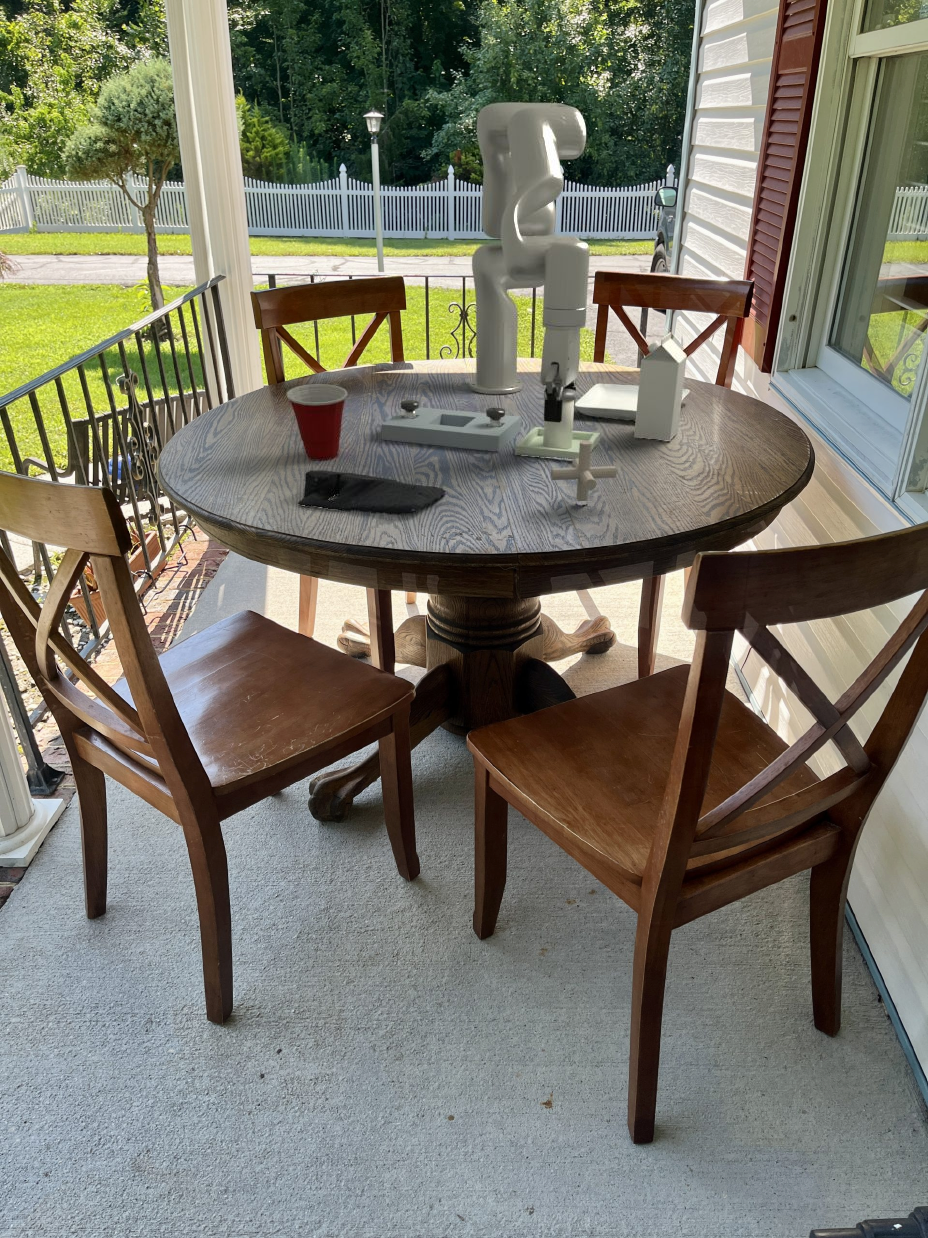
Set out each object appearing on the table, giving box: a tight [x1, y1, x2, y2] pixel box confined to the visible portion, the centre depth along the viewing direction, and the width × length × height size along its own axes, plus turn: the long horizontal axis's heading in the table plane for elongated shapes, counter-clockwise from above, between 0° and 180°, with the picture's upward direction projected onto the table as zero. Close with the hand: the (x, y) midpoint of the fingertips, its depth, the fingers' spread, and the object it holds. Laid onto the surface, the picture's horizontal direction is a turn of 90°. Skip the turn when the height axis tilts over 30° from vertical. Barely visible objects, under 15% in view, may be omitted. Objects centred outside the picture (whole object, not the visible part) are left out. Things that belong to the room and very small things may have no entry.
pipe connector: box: [550, 441, 618, 501], centre depth 132 cm, size 10×10×10 cm
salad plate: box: [574, 383, 690, 421], centre depth 182 cm, size 21×21×3 cm
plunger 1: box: [400, 399, 420, 419], centre depth 168 cm, size 4×4×6 cm
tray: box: [514, 426, 601, 459], centre depth 159 cm, size 13×13×2 cm
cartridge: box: [543, 388, 577, 449], centre depth 156 cm, size 6×6×10 cm
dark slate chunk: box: [297, 469, 446, 515], centre depth 136 cm, size 15×22×5 cm
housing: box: [381, 406, 522, 452], centre depth 166 cm, size 14×24×3 cm, turn 69°
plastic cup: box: [286, 383, 349, 461], centre depth 154 cm, size 11×11×12 cm
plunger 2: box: [485, 407, 506, 427], centre depth 163 cm, size 4×4×6 cm
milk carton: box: [633, 331, 688, 441], centre depth 161 cm, size 7×7×19 cm
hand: (559, 414), depth 156 cm, fingers open, 9 cm apart
